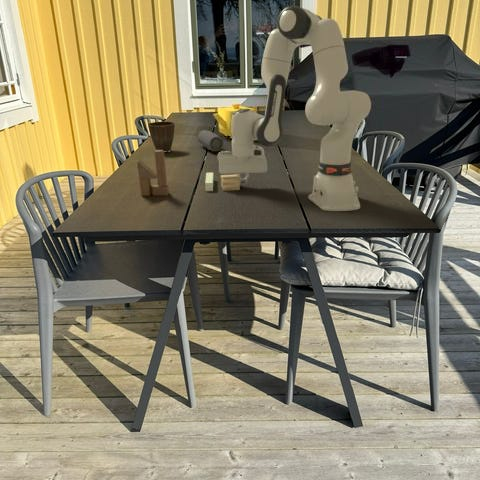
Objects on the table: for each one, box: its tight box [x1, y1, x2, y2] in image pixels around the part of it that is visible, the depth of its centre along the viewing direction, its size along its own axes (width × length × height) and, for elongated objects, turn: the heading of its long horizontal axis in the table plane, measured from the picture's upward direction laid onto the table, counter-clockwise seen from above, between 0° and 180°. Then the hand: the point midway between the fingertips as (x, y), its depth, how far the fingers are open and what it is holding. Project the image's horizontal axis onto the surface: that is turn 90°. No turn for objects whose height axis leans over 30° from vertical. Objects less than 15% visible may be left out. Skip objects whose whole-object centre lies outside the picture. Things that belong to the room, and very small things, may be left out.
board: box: [204, 172, 214, 192], centre depth 184 cm, size 16×3×4 cm, turn 2°
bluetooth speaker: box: [197, 129, 224, 152], centre depth 248 cm, size 23×9×10 cm, turn 22°
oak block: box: [220, 173, 241, 192], centre depth 181 cm, size 8×7×4 cm
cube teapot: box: [212, 103, 258, 139], centre depth 278 cm, size 35×30×21 cm
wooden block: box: [137, 149, 170, 197], centre depth 171 cm, size 4×11×18 cm, turn 87°
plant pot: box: [147, 121, 175, 151], centre depth 245 cm, size 15×15×16 cm
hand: (243, 183), depth 181 cm, fingers closed
